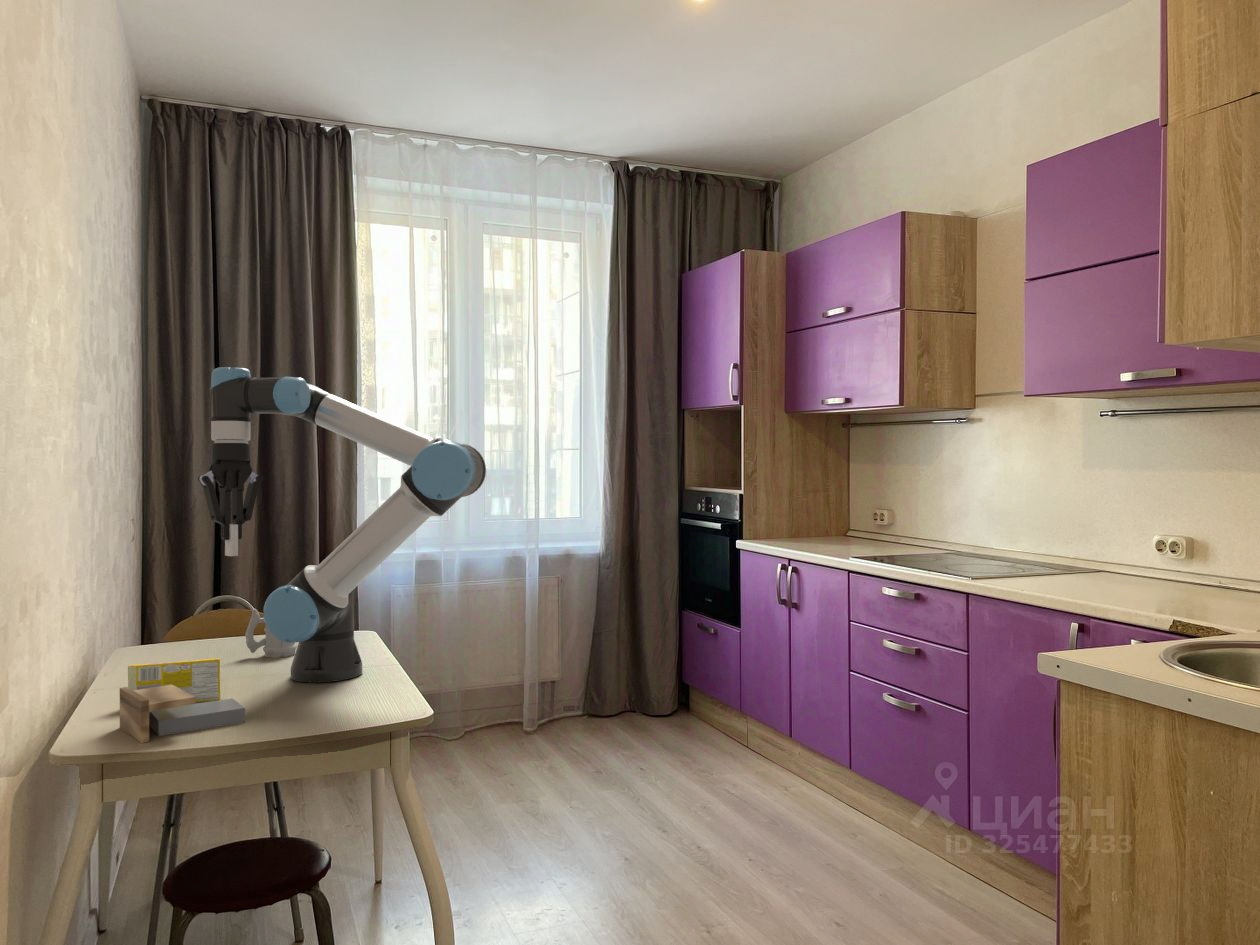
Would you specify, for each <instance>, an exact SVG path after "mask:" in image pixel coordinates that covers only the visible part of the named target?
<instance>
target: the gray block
mask: <svg viewBox="0 0 1260 945" xmlns="http://www.w3.org/2000/svg"><path fill="white" fill-rule="evenodd" d="M245 712H246V708H245V706H243V705H242V704H240V703H239V702H238V701H236V699H234V698H232V697H231V698H226V699H220V700H218V701H208V702H197V703H196V704H191V705H186V706H180V707H174V708H168V709H162V710H156V711H151V712H149V727H151V728H152V730H153V731H154V732H155V733H156V735H157V736H158V737H160V736H168V735H172V734H180V733H185V732H191V731H198V730H199V731H200V730H204V729H210V728H216V727H222V726H227V725H228V726H229V725H235V724H236V725H237V724H241V723H245V722H246V717H245V715H246V713H245Z"/></svg>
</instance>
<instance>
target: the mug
mask: <svg viewBox="0 0 1260 945" xmlns="http://www.w3.org/2000/svg"><path fill="white" fill-rule="evenodd" d="M251 611H252V612H251V613H252V614H251V617H250V620H249V623H248V625H247V629H246V631H245V633H244V636H245V637H244V638H245V640H246V641H245V642H246V646H247V647H246V648H247V649H249V651H250V653H252V654H255V653H256V651H257V650H258V649H260V648H261V647H262V649H263V652H264V657H266V658H272V659H274V658H275V659H276V658H277V659H279V658H281V659H282V658H287V657H291V656H295V653H296V650H297V647H298V644H296V642H295V643H289V642H284V641H281V640H279V639H278V638H276V637H275V636H274V635H272V634H271V632H270V631H269V630H268V628H267V626H266V625H265V627H264V629H263V630H264V632H265V638H262V639H260V640H256V639H255V636H254V631H255V629H256V628H257V626H258V624H263V623H264V624H265V621H264V617H260V613H259V612H258V610H257V609H256V608H252V610H251Z"/></svg>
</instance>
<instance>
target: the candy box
mask: <svg viewBox="0 0 1260 945" xmlns="http://www.w3.org/2000/svg"><path fill="white" fill-rule="evenodd" d="M127 681H128V682H127V687H128V688H130V689H132V690H139V689H146V688H152V687H159V686H165V685H174V686H176V687H178V688H180V689H181V690H183V691H185V692H187V693H189V694H191V695H193V696H195V697H196V704H197V703H204V702H211V701H218V700H221V658H219V657H217V658H206V659H205V658H204V659H193V660H178V661H167V662H155V663H152V662H151V663H140V664H130V665H128V666H127Z"/></svg>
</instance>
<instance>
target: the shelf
mask: <svg viewBox="0 0 1260 945" xmlns="http://www.w3.org/2000/svg"><path fill="white" fill-rule="evenodd" d="M191 704H197V703H196V697H195V696H193V695H191V694H189V693H187V692H185V691H183V690H181V689H180V688H178V687H176V686H174V685H165V686H159V687H152V688H146V689H139V690H132V689H130V688H128V686H123V687H119V728H120V729H121V730H122V731H124V732H125V731H126V732H125V733H127V734H128V735H129V736H131V737H132V738H134V739H135V740H136V741H138V742H139V743H141V744H144V743H149V742H150V724H149V712H151V711H156V710H162V709H168V708H174V707H180V706H186V705H191Z"/></svg>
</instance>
